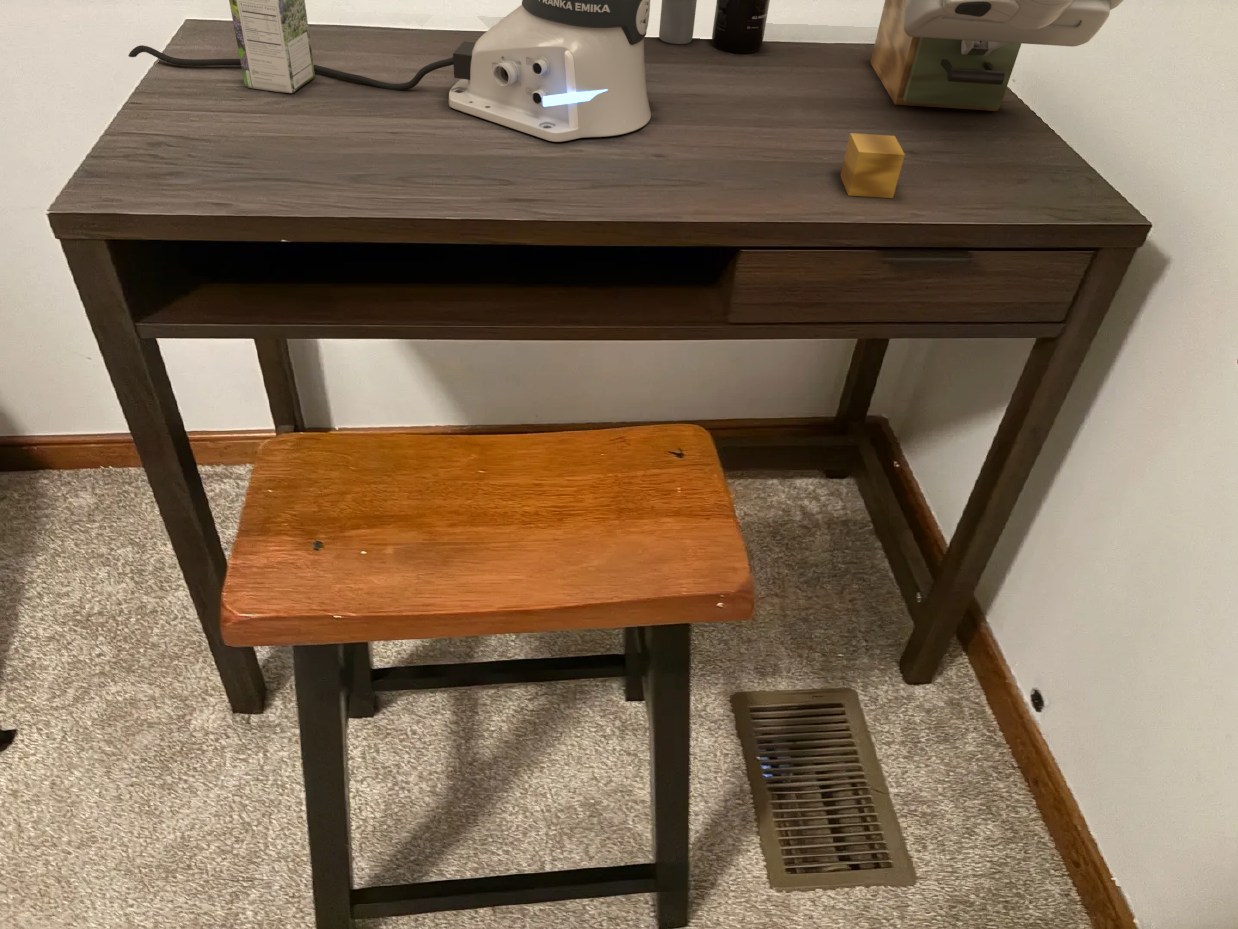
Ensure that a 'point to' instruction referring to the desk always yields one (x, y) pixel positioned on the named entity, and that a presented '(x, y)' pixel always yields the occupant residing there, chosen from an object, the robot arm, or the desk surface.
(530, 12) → the robot arm
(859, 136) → the block
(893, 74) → the cabinet
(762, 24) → the supplement bottle
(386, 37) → the desk surface
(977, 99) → the drawer
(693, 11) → the planter
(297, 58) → the syrup box
